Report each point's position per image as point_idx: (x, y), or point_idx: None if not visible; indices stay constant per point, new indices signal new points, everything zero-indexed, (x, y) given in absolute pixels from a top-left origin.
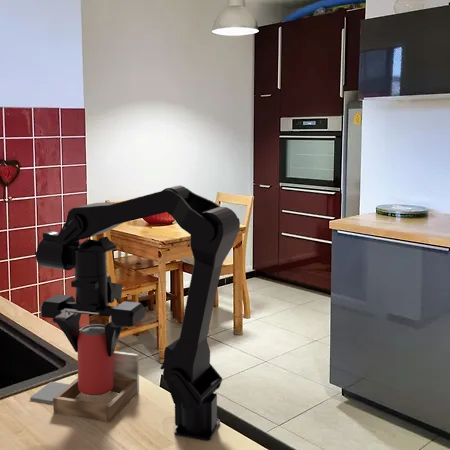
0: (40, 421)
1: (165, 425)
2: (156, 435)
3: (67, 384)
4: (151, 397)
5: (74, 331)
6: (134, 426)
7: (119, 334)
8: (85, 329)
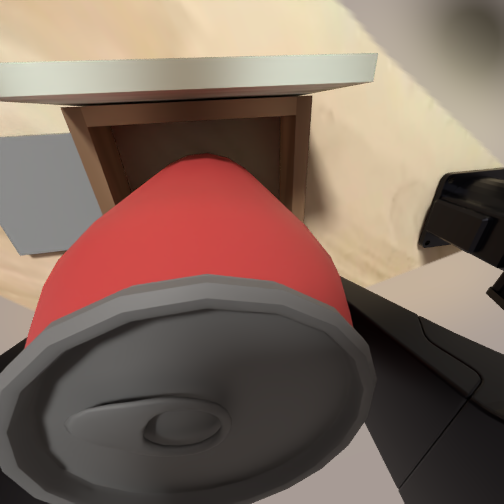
0: None
1: (398, 221)
2: (385, 255)
3: (30, 138)
4: (341, 104)
5: (18, 493)
6: (338, 247)
7: (454, 340)
8: (77, 447)
